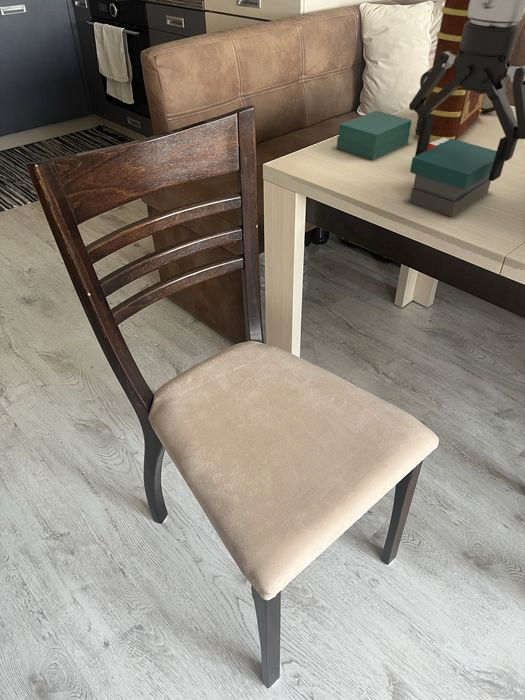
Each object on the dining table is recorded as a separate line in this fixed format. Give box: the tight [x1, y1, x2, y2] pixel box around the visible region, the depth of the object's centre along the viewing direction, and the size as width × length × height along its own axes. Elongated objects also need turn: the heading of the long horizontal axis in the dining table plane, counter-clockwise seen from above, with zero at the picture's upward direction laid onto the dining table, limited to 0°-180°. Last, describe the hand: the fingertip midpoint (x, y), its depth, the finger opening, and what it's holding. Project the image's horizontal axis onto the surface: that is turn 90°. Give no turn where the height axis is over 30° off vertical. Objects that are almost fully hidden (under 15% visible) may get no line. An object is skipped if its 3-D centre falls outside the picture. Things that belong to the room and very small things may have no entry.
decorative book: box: [416, 0, 485, 143], centre depth 115 cm, size 22×8×30 cm, turn 148°
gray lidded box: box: [409, 174, 492, 218], centre depth 95 cm, size 8×13×5 cm, turn 137°
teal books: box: [336, 110, 412, 161], centre depth 114 cm, size 9×13×5 cm
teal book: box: [409, 139, 497, 190], centre depth 92 cm, size 10×13×2 cm
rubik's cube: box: [428, 138, 450, 150], centre depth 104 cm, size 5×5×5 cm
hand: (455, 166), depth 93 cm, fingers open, 13 cm apart
